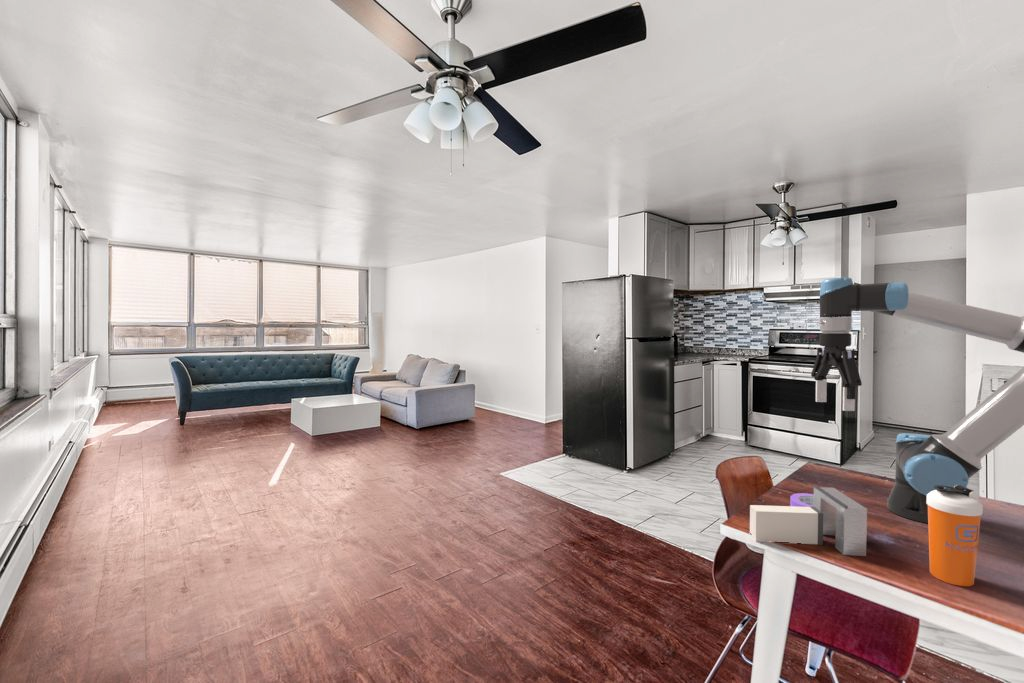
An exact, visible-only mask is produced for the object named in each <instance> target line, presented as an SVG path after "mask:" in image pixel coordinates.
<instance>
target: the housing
mask: <svg viewBox="0 0 1024 683" xmlns="http://www.w3.org/2000/svg"><path fill="white" fill-rule="evenodd" d="M812 487H813V494H814V503H813V507H816V508H817V509H818V510H820V511H821V512H822V513H823V536H835V538H834V539H835V540H834V541H835V544H834V546H835V547H834V548H835V549H836V550H837V551H838V552H839V553H841V554H842V555H843V556H854V557H855V556H856V557H857V556H860V557H866V556H867V535H868V532H867V529H868V508H867V507H865V506H863V505H861V504H860V503H858V502H857V501H855V500H854V499H853V498H851V497H849V496H847V495H846V494H844V493H843V492H841V491H840V490H838V489H836V488H835V487H825V486H824V487H821V486H818V485H817V484H813V486H812Z"/></svg>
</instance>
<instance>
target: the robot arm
mask: <svg viewBox="0 0 1024 683" xmlns="http://www.w3.org/2000/svg"><path fill="white" fill-rule="evenodd" d="M853 312H873V313H879V314H883V315H887V316H892V317H895V318H900V319H904V320H908V321H912V322H915V323H920V324H923V325H928V326H932V327H935V328H940V329H944V330H948V331H952V332H956V333H959V334H964V335H968V336H971V337H972V336H973V337H977V338H980V339H984V340H989V341H993V342H996V343H1000V344H1004V345H1006V346H1007V348H1008V349H1009V350H1011V351H1017V352H1020V353H1022V354H1024V315H1022V316H1018V315H1013V314H1008V313H1003V312H1000V311H995V310H990V309H986V308H982V307H977V306H973V305H969V304H968V305H967V304H963V303H958V302H953V301H949V300H946V299H941V298H936V297H932V296H926V295H922V294H918V293H914V292H909V286H908V284H907V283H906V282H893V281H892V282H891V281H890V282H879V283H878V282H877V283H876V282H875V283H867V284H866V283H863V284H861V283H860V284H859V283H858V284H855V283H854V282H853V279H852V277H832V278H825V279H823V280H822V281H821V282H820V289H819V321H818V324H819V331H820V332H821V333H819V334H818V335H819V337H818V338H819V340H818V341H819V346H820V347H818V348H817V350H816V358H815V360H814V364H813V367H812V371H811V374H810V375H811V377H812V378H814V380H815V402H816V403H827V401H828V400H827V396H828V395H827V394H828V393H827V392H828V391H827V388H828V387H827V386H828V379H827V376H828V374H829V372H830V371H831V369H832V367H833V366H834V367H835V368H836V369H837V370H838V373H839V375H840V377H841V379H842V382H843V385H842V411H843V412H855V411H856V388H858V387H862V378H861V376H860V372H859V368H858V365H857V362H856V359H855V358H856V356H855V351H854V350H847V347H850V346H852V334H851V333H850V332H851V331H852V330H853V329H852V327H853V325H852V324H853V323H852V322H853V321H852V318H853V317H852V313H853ZM1023 426H1024V366H1023V367H1022V368H1021V369H1020V370H1019V371H1017V372H1016V373H1014V374H1013V375H1012V376H1011V377H1010V378H1008V380H1006V381H1005V382H1004V383H1003V384H1002V385H1001V386H999V387H998V388H997V389H996V390H995V391H994V392H992V393H991V394H990V395H989V396H988V397H986V398H985V399H984V400H983V401H981V402H980V403H979V404H978V405H977V406H976V407H974V408H973V409H972V410H970V412H969V413H967V414H966V415H965V416H964V417H963V418H962V419H960V420H959V421H958V422H957V423H956V424H954V425H953V426H952V427H951V428H949V430H947V431H946V432H945V433H943V434H931V435H930V434H920V433H912V432H911V433H909V432H907V433H906V432H902V433H899V434H897V435H896V441H895V446H896V449H895V450H896V451H895V480H894V481H895V482H894V483H893V487H892V489H891V491H890V492H889V496H888V497H887V500H886V502H887V503H886V507H887V510H889V511H890V512H892V513H893V514H896V515H898V516H900V517H902V518H906V519H909V520H912V521H917V522H920V523H926V524H928V505H927V504H926V499H927V494H928V493H930V492H931V491H933V490H936V489H935V488H934V486H935V485H942V486H950V487H954V486H956V485H961V486H963V487H966V488H968V485H969V480H970V478H972V477H973V476H974V475H975V474H977V472H980V471H981V470H982V468H983V467H982V462H981V461H982V459H984V457H986V455H988V454H989V453H991V452H992V451H993V450H995V449H996V448H997V447H998V446H999V445H1001V444H1002V443H1003V442H1004V441H1005V440H1007V439H1009V437H1011V436H1012V435H1013V434H1014V433H1016V432H1017V431H1018V430H1020V429H1021V428H1022V427H1023Z"/></svg>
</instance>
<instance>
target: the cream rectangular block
mask: <svg viewBox="0 0 1024 683" xmlns="http://www.w3.org/2000/svg"><path fill="white" fill-rule="evenodd" d="M750 533H751V534H752V537H753V538H752V537H751V538H752V539H753V540H754V542H755V543H770V542H769V541H772V542H774V541H777V542H789V543H788V544H797V543H801V544H803V545H805V544H806V545H819V546H820V545H821V546H822V545H823V544H824V542H823V541H824V535H823V513H822V512H821V511H820V510H818V509H817V508H816V507H811V506H810V507H797V506H790V505H788V506H787V505H762V504H761V505H760V504H759V505H758V504H749V534H750ZM772 542H771V543H772ZM801 544H800V545H801Z"/></svg>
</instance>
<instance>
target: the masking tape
mask: <svg viewBox="0 0 1024 683" xmlns="http://www.w3.org/2000/svg"><path fill="white" fill-rule="evenodd" d="M789 499H790V505H789V506H797V507H810V506H811V507H813V503H814V493H806V492H805V493H803V492H801V493H800V492H798V493H794V494H792V495H790V498H789Z"/></svg>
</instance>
